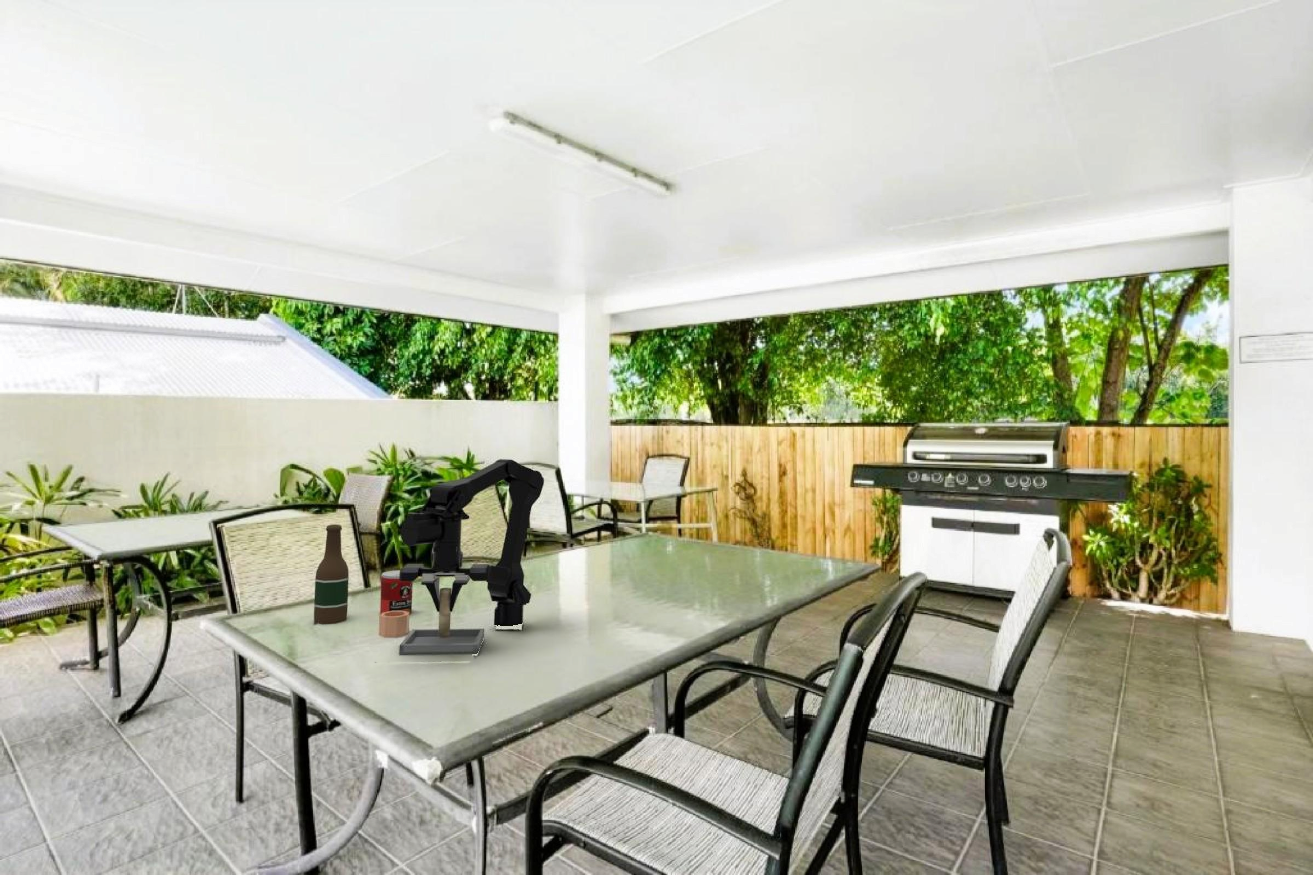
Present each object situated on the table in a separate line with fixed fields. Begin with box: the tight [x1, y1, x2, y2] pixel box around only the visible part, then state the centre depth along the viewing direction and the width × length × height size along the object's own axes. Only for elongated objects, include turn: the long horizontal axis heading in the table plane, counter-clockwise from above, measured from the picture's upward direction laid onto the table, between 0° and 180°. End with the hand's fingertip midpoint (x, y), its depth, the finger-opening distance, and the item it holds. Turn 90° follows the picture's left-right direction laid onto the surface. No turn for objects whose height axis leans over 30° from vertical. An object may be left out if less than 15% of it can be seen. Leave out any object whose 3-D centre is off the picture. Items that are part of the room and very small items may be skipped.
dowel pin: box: [438, 587, 452, 638], centre depth 144 cm, size 2×2×10 cm
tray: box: [398, 628, 485, 656], centre depth 144 cm, size 16×12×2 cm
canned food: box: [379, 569, 414, 616], centre depth 169 cm, size 8×8×11 cm
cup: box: [378, 611, 410, 638], centre depth 152 cm, size 6×6×5 cm
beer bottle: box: [313, 524, 350, 626], centre depth 161 cm, size 8×8×24 cm
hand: (445, 611), depth 144 cm, fingers closed on dowel pin, 2 cm apart
